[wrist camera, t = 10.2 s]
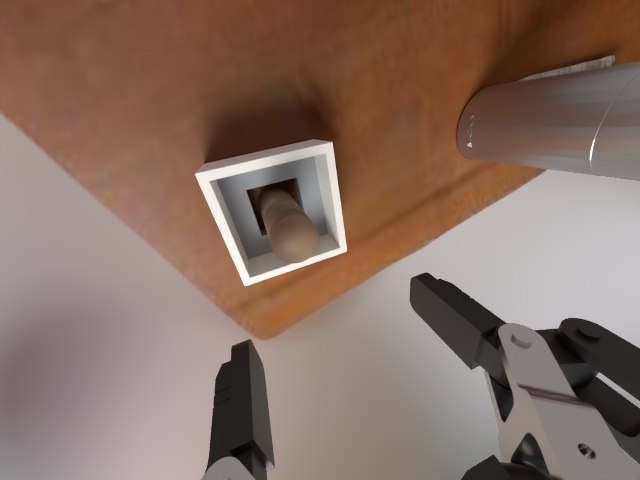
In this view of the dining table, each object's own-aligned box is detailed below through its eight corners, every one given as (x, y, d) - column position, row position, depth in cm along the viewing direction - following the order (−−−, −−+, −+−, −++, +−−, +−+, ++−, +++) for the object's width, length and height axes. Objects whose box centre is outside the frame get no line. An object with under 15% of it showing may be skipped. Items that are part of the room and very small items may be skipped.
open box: (313, 139, 26) (332, 141, 20) (329, 231, 31) (347, 251, 26) (204, 163, 23) (194, 173, 18) (243, 258, 29) (244, 286, 24)
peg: (287, 182, 27) (315, 212, 17) (295, 213, 29) (323, 254, 19) (254, 191, 26) (264, 227, 17) (264, 222, 28) (278, 269, 19)
